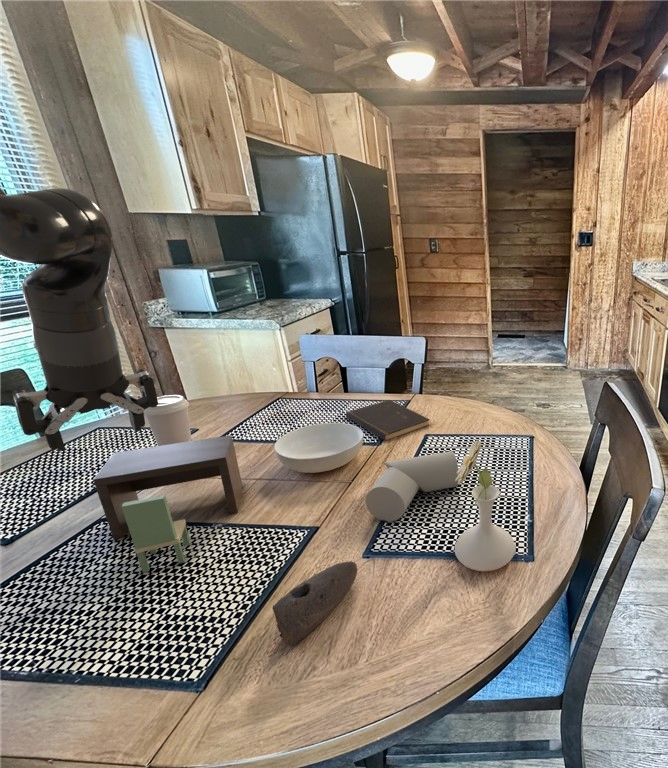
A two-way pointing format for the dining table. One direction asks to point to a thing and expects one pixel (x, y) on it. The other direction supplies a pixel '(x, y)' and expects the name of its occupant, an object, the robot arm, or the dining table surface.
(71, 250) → the robot arm
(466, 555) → the flower in vase
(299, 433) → the serving bowl
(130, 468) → the desk
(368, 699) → the dining table surface
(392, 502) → the l-shaped cylinder
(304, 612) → the perforated stone tool
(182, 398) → the coffee cup
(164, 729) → the dining table surface
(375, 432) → the hardcover book
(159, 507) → the chair
